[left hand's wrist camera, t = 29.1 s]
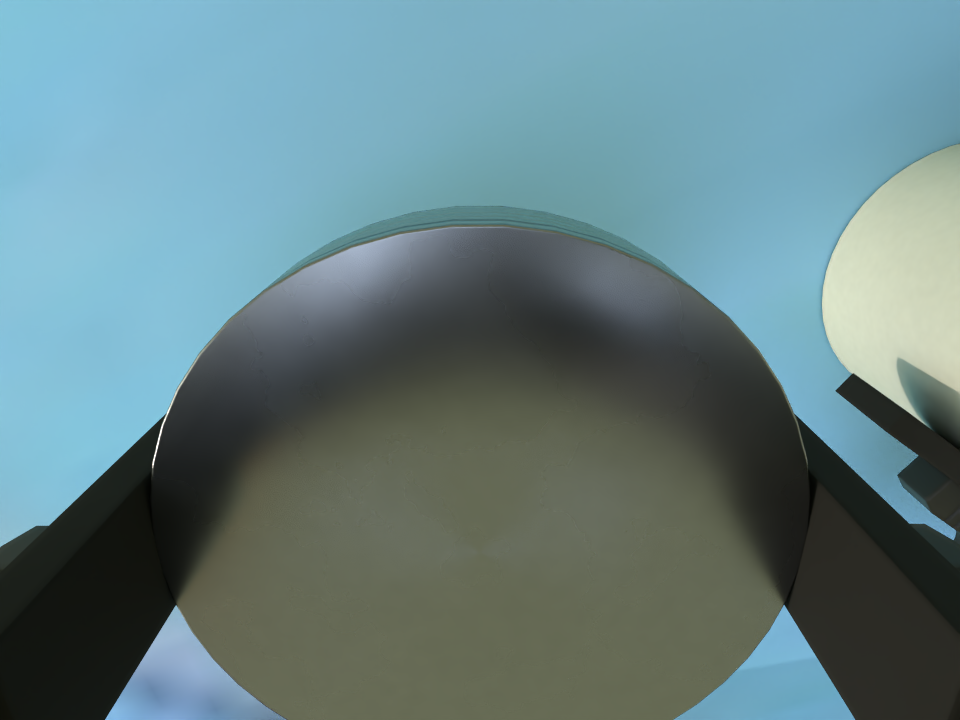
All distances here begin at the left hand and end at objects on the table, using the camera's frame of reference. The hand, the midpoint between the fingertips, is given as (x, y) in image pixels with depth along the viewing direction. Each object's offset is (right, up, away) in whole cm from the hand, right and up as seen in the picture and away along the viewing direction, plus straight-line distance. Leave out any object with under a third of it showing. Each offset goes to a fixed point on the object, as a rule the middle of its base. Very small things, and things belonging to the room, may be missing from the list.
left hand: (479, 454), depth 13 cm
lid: (0, -1, -3) cm, 3 cm away
